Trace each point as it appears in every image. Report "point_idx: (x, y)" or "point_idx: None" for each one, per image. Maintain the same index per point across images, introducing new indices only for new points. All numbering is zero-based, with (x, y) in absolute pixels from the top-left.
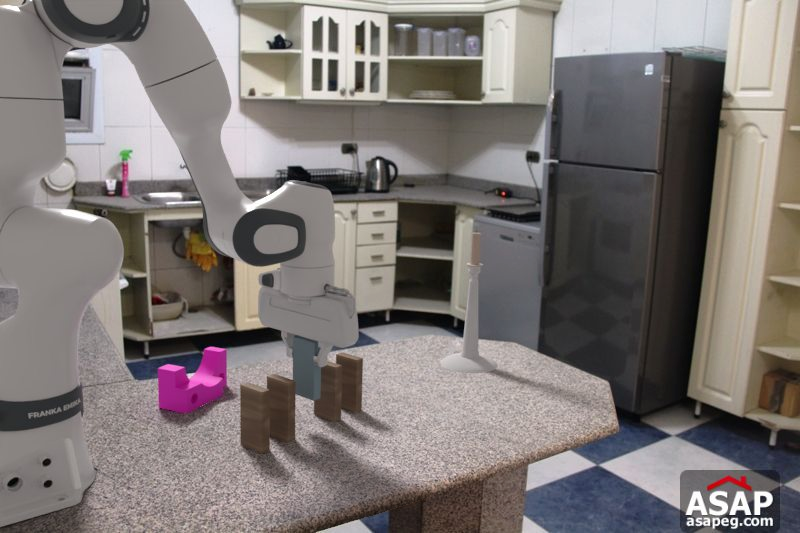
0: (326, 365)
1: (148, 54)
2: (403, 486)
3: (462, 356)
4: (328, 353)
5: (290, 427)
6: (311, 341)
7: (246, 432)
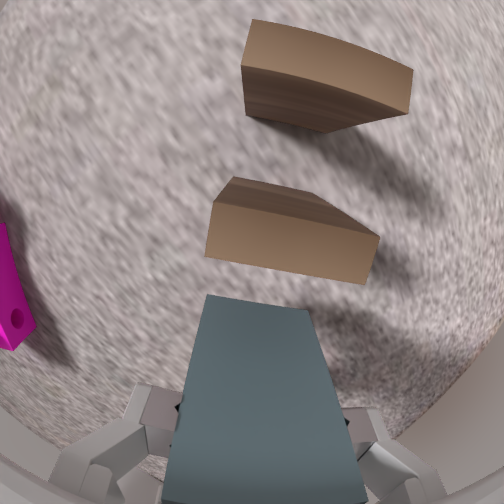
0: (299, 271)
1: None
2: (470, 355)
3: None
4: (400, 447)
5: None
6: None
7: None
